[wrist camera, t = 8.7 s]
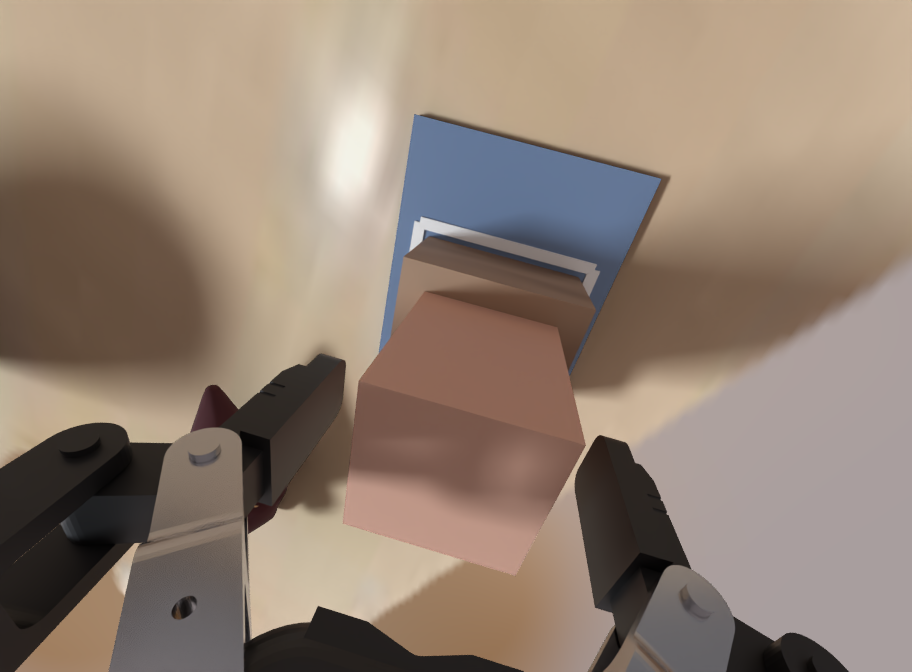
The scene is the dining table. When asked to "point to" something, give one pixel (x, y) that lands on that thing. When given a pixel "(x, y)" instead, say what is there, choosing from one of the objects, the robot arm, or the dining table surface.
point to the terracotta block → (463, 433)
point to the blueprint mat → (517, 207)
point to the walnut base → (496, 288)
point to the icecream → (213, 415)
